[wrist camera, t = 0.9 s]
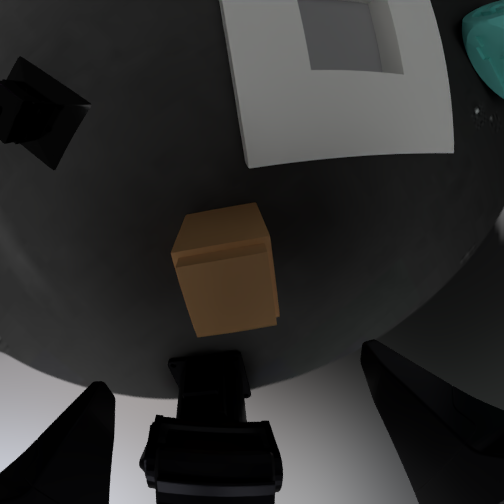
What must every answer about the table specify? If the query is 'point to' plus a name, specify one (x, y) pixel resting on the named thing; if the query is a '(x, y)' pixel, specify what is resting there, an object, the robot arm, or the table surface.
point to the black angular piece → (39, 112)
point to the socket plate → (337, 79)
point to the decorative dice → (486, 43)
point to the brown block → (226, 270)
